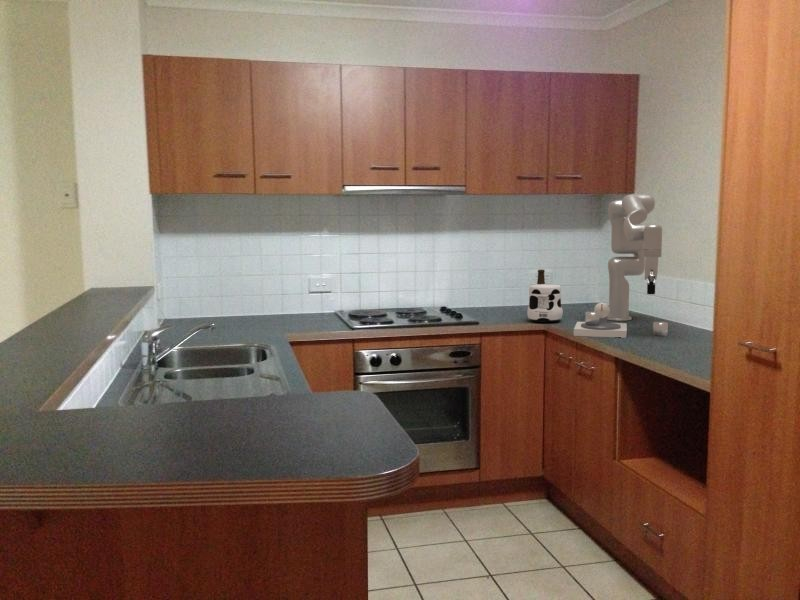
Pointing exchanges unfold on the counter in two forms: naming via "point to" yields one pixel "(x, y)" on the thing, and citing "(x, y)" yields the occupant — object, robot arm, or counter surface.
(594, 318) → the cylinder
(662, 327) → the cylinder
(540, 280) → the beer bottle
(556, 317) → the milk container
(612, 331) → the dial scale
